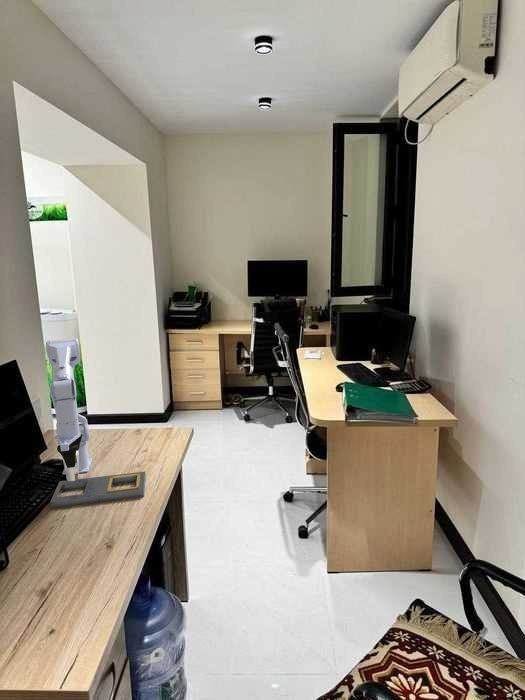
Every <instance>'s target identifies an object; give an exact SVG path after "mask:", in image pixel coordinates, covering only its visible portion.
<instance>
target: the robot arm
mask: <svg viewBox="0 0 525 700" xmlns="http://www.w3.org/2000/svg"><path fill="white" fill-rule="evenodd" d="M45 345H46V346H45V347H46V348H45V349H46V355H47V358H48V361H49V362H48V363H49V364H50V365H51V367H53V369H52V383H50V384H49V385H50V386H49V387H50V389H49V390H50V396H51V400H52V403H53V408H54V410H55V411H54V412H55V418H56V425H55V430H56V431H55V432H56V434H55V435H54V437H53V438H54V439H55V440H56V441H57V444H58V445H57V446H56V450H57V453H59V455H60V456H61V457H62V460H63V459H64V461H65V464H66V466H67V468H72V467H75V464H76V451H78V450H79V474H80V473H88V472H89V470H90V467H91V464H92V461H93V458H92V457H91V458H90V456H89V449H88V448H89V447H88V441H90V431H89V424H88V419H87V418H86V417H85V416H83V415H81V414H79V413H78V403H77V385H76V380H75V374H74V370H75V367H76V365H78V364H80V361H81V355H80V354H81V352H80V343H79V339H78V338H77V337H73V338H65V339H64V338H63V339H54V340H50V339H48V340H46V342H45ZM79 448H80V449H79ZM62 475H66V472H65V468H64V469H63V471H62Z"/></svg>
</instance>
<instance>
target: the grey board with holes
mask: <svg viewBox="0 0 525 700" xmlns="http://www.w3.org/2000/svg"><path fill="white" fill-rule="evenodd" d="M146 477H147V474H146V471H137V472H129V473H121V474H111V475H104V476H94V477H93V476H92V477H87V478H85V477H84V478H78V480H76V481H72V482H70V481H67V480H59V482H58V484H57V486H56V489H55V490H54V493H53V495H52V496H51V497H52V498H51V499H50V502H49V503H50V509H55V508H62V507H71V506H80V505H88V504H95V503H103V502H110V501H119V500H120V501H121V500H128V499H136V498H142V497H145V491H146V490H145V489H146ZM127 483H136V485H135V486H132V487H131V486H129V487H122V488H115V489H113V488H114V485H119V484H127ZM84 488H85V489H84ZM77 489H84V492H83V493H80V494H73V495H64V496H62V494H63V491H68V490H69V491H70V490H77Z"/></svg>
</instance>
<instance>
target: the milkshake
mask: <svg viewBox="0 0 525 700" xmlns="http://www.w3.org/2000/svg"><path fill="white" fill-rule="evenodd" d="M79 449H80V448H79ZM62 460H63V466H64V469H65V472H66V474H65V476H66V477H65V478H66V481H70V482H72V481H76V480H78V479H80V473H79V450H78V451H76V464H75V467H72V468H67V466H66V464H65V461H64V459H63V458H62Z"/></svg>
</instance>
